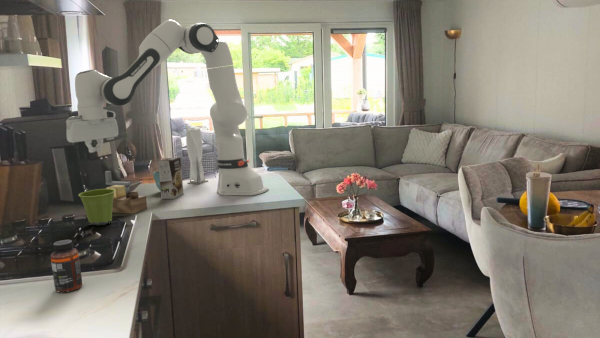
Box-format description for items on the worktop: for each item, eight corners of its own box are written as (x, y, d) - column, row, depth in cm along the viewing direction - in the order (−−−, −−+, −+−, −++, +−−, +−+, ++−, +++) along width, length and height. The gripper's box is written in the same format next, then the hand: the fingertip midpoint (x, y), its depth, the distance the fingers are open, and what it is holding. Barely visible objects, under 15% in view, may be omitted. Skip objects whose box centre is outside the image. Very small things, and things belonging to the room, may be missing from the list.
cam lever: (132, 196, 201) (129, 171, 200) (128, 197, 200) (125, 172, 198) (111, 195, 206) (108, 170, 205) (107, 196, 204) (104, 171, 203)
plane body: (147, 208, 203) (145, 189, 202) (132, 213, 196) (130, 193, 195) (118, 206, 210) (116, 187, 208) (102, 211, 203) (100, 192, 201)
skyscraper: (185, 183, 253) (179, 125, 248) (194, 180, 260) (190, 123, 255) (199, 184, 249) (194, 124, 245) (209, 180, 256) (204, 123, 252)
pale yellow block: (126, 195, 205) (125, 185, 204) (116, 198, 200) (115, 188, 200) (116, 195, 207) (115, 185, 206) (107, 197, 202) (105, 187, 202)
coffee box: (175, 198, 219) (171, 160, 216) (160, 198, 220) (157, 160, 217) (184, 194, 227) (181, 157, 225) (170, 194, 229) (167, 157, 226)
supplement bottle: (81, 281, 127) (75, 236, 126) (84, 289, 122) (78, 242, 120) (54, 287, 125) (48, 241, 123) (56, 295, 120) (49, 247, 118)
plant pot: (76, 225, 182) (72, 193, 181) (108, 218, 191) (104, 187, 189) (92, 230, 174) (88, 197, 173) (125, 222, 183) (121, 190, 181)
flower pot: (166, 193, 230) (165, 173, 229) (154, 192, 235) (152, 172, 234) (182, 190, 237) (180, 170, 235) (169, 188, 242) (168, 169, 241)
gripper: (71, 116, 185) (75, 155, 187) (119, 112, 202) (122, 148, 204) (60, 117, 189) (65, 155, 191) (108, 112, 206) (112, 148, 208)
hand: (95, 151), depth 198 cm, fingers closed
